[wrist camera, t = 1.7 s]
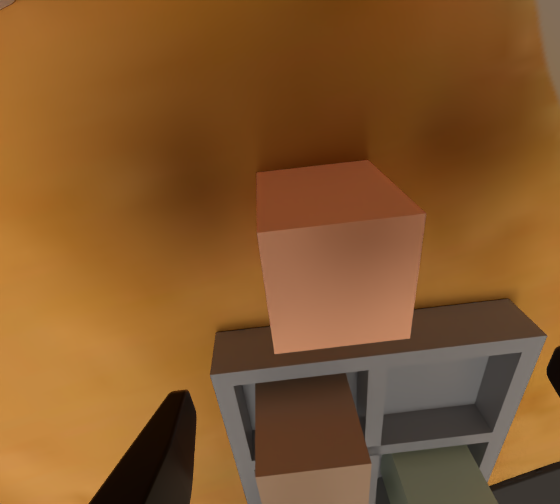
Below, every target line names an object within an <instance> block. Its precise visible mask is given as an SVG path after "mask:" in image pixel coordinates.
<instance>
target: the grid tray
mask: <svg viewBox="0 0 560 504" xmlns="http://www.w3.org/2000/svg"><path fill="white" fill-rule="evenodd" d="M546 338H547V335H546V334H545V333H544V332H543V331H542V330H541V329H540V328H539V327H538V326H537V325H536V324H535V323H534V322H533V321H532V320H531V319H529V318H528V317H527V316H526V315H525V314H524V313H523V312H522V311H521V310H520V309H519V308H518V307H517V306H516V305H515V304H514V303H513V302H512V301H511V300H510V299H502V300H493V301H485V302H476V303H467V304H459V305H450V306H441V307H433V308H424V309H416V310H414V312H413V319H412V327H411V334H410V338H409V339H401V340H392V341H384V342H375V343H366V344H358V345H349V346H341V347H332V348H324V349H315V350H306V351H298V352H289V353H281V354H274V347H273V340H272V334H271V327H270V326H269V327H260V328H252V329H243V330H235V331H226V332H217V333H216V336H215V343H214V351H213V358H212V365H211V372H210V377H211V380H212V383H213V387H214V390H215V394H216V397H217V401H218V404H219V407H220V411H221V414H222V418H223V421H224V424H225V428H226V431H227V435H228V438H229V442H230V445H231V448H232V452H233V455H234V459H235V462H236V466H237V469H238V472H239V476H240V479H241V483H242V486H243V490H244V493H245V496H246V500H247V503H248V504H498V502H497V500H496V498H495V497H494V495H493V493H492V491H491V489H490V487H489V486H488V484H487V482H488V480H489V477H490V475H491V472H492V470H493V467H494V465H495V463H496V460H497V458H498V455H499V453H500V450H501V448H502V445H503V443H504V441H505V438H506V436H507V433H508V431H509V428H510V426H511V423H512V421H513V418H514V416H515V414H516V411H517V409H518V406H519V404H520V401H521V399H522V396H523V394H524V392H525V389H526V387H527V384H528V382H529V379H530V377H531V374H532V372H533V369H534V367H535V365H536V362H537V360H538V357H539V355H540V352H541V350H542V347H543V345H544V342H545V340H546Z"/></svg>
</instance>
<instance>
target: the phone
mask: <svg viewBox="0 0 560 504" xmlns="http://www.w3.org/2000/svg"><path fill="white" fill-rule="evenodd" d="M489 487H490V489H491V491H492V493H493V495H494V497H495V498H496V500H497V502H498V504H560V462H556V463H553V464H550V465H547V466H544V467H542V468H539V469H536V470H533V471H530V472H528V473H525V474H522V475H519V476H516V477H514V478H510V479H507V480H505V481H502V482H500V483H497V484H494V485H491V486H489Z"/></svg>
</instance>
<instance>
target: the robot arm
mask: <svg viewBox="0 0 560 504" xmlns="http://www.w3.org/2000/svg"><path fill="white" fill-rule="evenodd" d="M547 376H548V378H549V380H550V382H551V384H552V385H553V387H554V389H555V390H556V392H557V394H558V395H559V397H560V346H558V347H557V348H556V349H555V350H554V353H553V355H552V357H551V360H550V362H549V364H548V366H547ZM195 435H196V410H195V407H194V404H193V402H192V399H191V396H190V393H189V391H188V390H178V391H172V392H171V393H169V394H168V396H167V397H166V398H165V400H164V401H163V402H162V404H161V405H160V407H159V408H158V409H157V411H156V412H155V413H154V415H153V416H152V418H151V419H150V420H149V422H148V423H147V424H146V426H145V427H144V428H143V430H142V431H141V433H140V434H139V435H138V437H137V438H136V439H135V441H134V442H133V444H132V445H131V446H130V448H129V449H128V450H127V452H126V453H125V455H124V456H123V457H122V459H121V460H120V461H119V463H118V464H117V465H116V467H115V468H114V470H113V471H112V472H111V474H110V475H109V476H108V478H107V479H106V481H105V482H104V483H103V485H102V486H101V487H100V489H99V490H98V492H97V493H96V494H95V496H94V497H93V498H92V500H91V501H90V502H89V504H190V498H191V491H192V481H193V467H194V451H195Z"/></svg>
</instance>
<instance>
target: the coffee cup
mask: <svg viewBox="0 0 560 504" xmlns="http://www.w3.org/2000/svg"><path fill="white" fill-rule="evenodd" d="M14 1H15V0H0V9H2V8H4V7H6V6H8V5H10V4H12V3H13V2H14Z"/></svg>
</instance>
